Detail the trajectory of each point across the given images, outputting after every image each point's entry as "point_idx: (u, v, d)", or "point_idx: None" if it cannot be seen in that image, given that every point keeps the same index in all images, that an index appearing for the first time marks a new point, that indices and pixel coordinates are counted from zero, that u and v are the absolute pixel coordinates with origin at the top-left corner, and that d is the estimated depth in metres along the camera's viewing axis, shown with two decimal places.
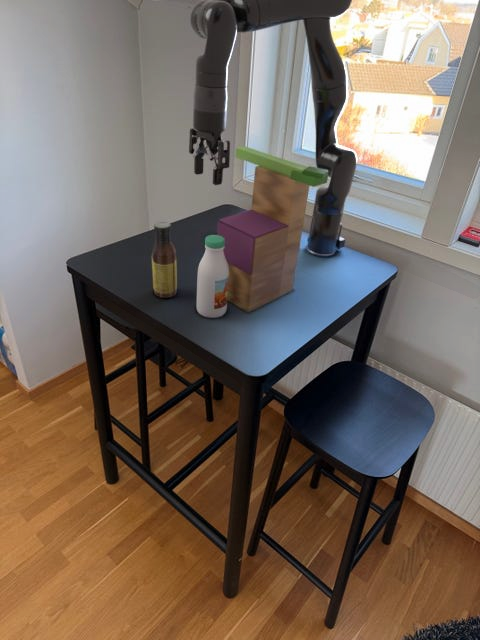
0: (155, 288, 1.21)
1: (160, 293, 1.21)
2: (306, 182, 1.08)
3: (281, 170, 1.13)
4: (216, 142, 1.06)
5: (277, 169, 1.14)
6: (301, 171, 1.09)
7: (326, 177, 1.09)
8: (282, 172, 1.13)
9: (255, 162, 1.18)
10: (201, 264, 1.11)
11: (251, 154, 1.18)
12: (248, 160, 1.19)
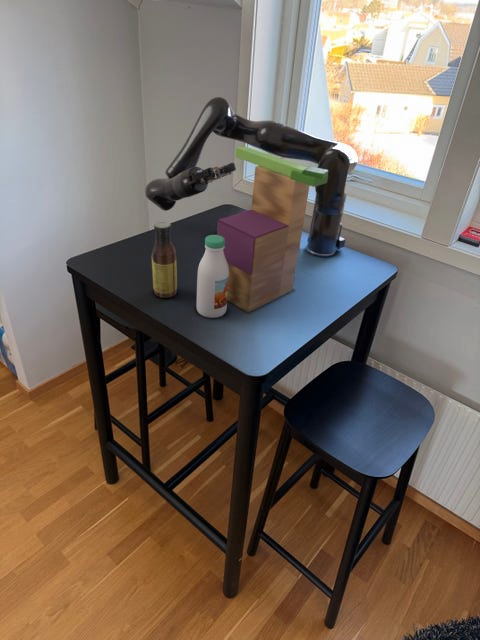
0: (155, 288, 1.21)
1: (160, 293, 1.21)
2: (306, 182, 1.08)
3: (281, 170, 1.13)
4: None
5: (277, 169, 1.14)
6: (301, 171, 1.09)
7: (326, 177, 1.09)
8: (282, 172, 1.13)
9: (255, 162, 1.18)
10: (201, 264, 1.11)
11: (251, 154, 1.18)
12: (248, 160, 1.19)
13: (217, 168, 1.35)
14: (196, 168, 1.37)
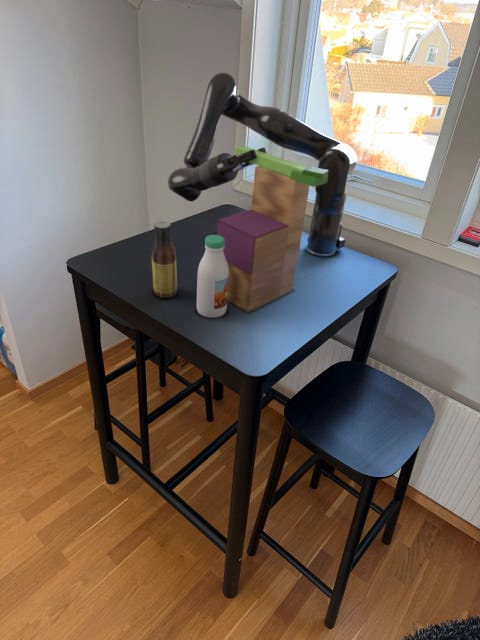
0: (155, 288, 1.21)
1: (160, 293, 1.21)
2: (306, 182, 1.08)
3: (281, 170, 1.13)
4: None
5: (277, 169, 1.14)
6: (301, 171, 1.09)
7: (326, 177, 1.09)
8: (282, 172, 1.13)
9: (255, 162, 1.18)
10: (201, 264, 1.11)
11: None
12: None
13: None
14: (226, 154, 1.27)
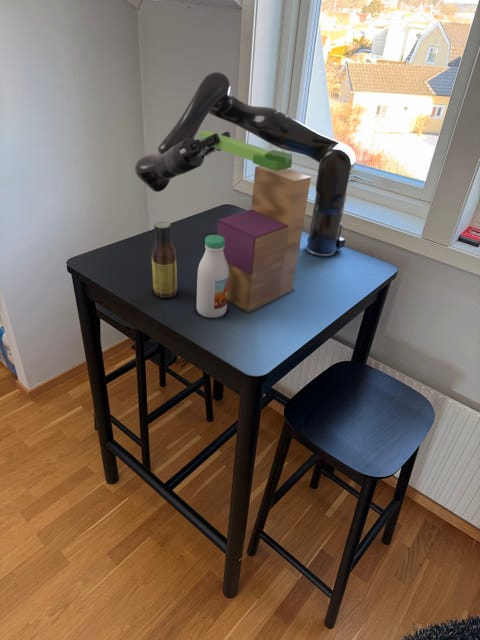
0: (155, 288, 1.21)
1: (160, 293, 1.21)
2: (268, 166, 1.02)
3: (244, 154, 1.07)
4: None
5: (240, 153, 1.08)
6: (264, 155, 1.03)
7: (290, 161, 1.03)
8: (245, 156, 1.07)
9: (218, 147, 1.12)
10: (201, 264, 1.11)
11: None
12: None
13: None
14: (191, 140, 1.21)
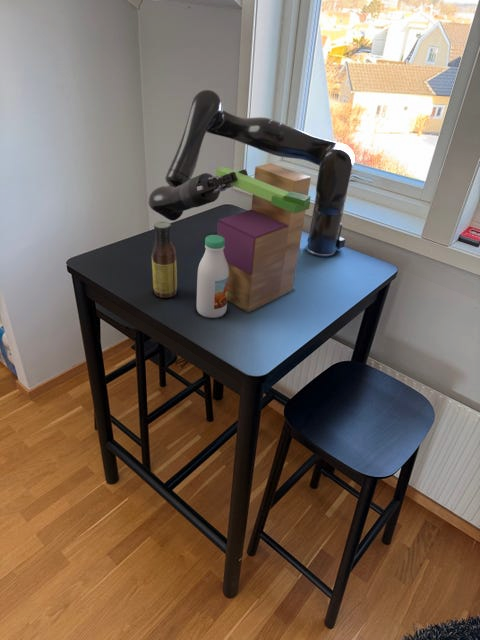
0: (155, 288, 1.21)
1: (160, 293, 1.21)
2: (287, 208, 1.03)
3: (262, 194, 1.08)
4: None
5: (258, 193, 1.09)
6: (282, 197, 1.04)
7: (308, 203, 1.04)
8: (263, 196, 1.08)
9: (236, 185, 1.13)
10: (201, 264, 1.11)
11: None
12: None
13: None
14: (207, 175, 1.22)
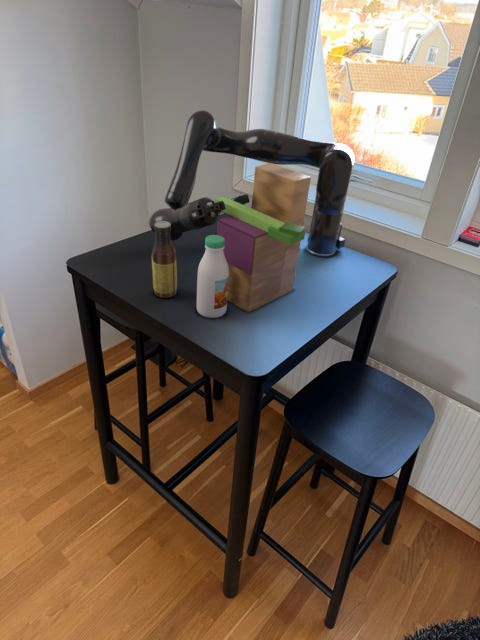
0: (155, 288, 1.21)
1: (160, 293, 1.21)
2: (282, 239, 1.07)
3: (258, 225, 1.12)
4: None
5: (255, 223, 1.13)
6: (278, 228, 1.08)
7: (303, 234, 1.08)
8: (259, 227, 1.12)
9: (233, 214, 1.17)
10: (201, 264, 1.11)
11: (229, 206, 1.17)
12: (227, 212, 1.18)
13: None
14: (205, 199, 1.25)
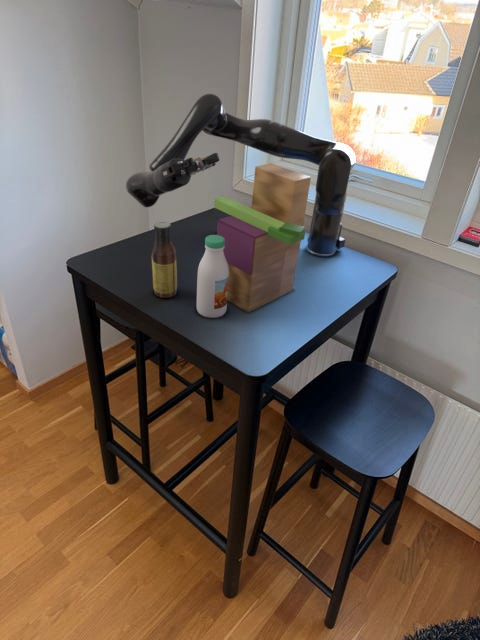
0: (155, 288, 1.21)
1: (160, 293, 1.21)
2: (282, 239, 1.07)
3: (258, 225, 1.12)
4: (172, 174, 1.24)
5: (255, 223, 1.13)
6: (278, 228, 1.08)
7: (303, 234, 1.08)
8: (259, 227, 1.12)
9: (233, 214, 1.17)
10: (201, 264, 1.11)
11: (229, 206, 1.17)
12: (227, 212, 1.18)
13: (200, 159, 1.25)
14: (177, 160, 1.28)
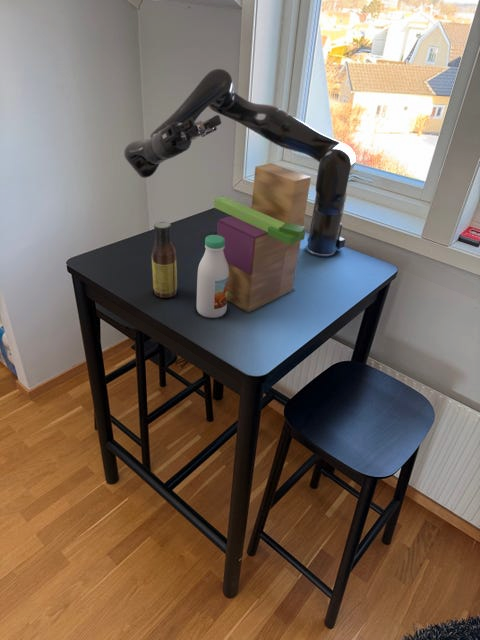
0: (155, 288, 1.21)
1: (160, 293, 1.21)
2: (282, 239, 1.07)
3: (258, 225, 1.12)
4: (172, 138, 1.19)
5: (255, 223, 1.13)
6: (278, 228, 1.08)
7: (303, 234, 1.08)
8: (259, 227, 1.12)
9: (233, 214, 1.17)
10: (201, 264, 1.11)
11: (229, 206, 1.17)
12: (227, 212, 1.18)
13: (200, 123, 1.20)
14: (177, 124, 1.23)
